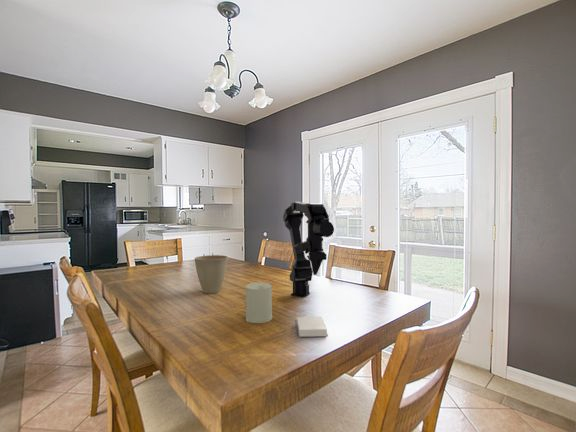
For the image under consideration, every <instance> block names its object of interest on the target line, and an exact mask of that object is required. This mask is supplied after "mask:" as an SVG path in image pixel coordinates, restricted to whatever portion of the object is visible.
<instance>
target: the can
mask: <svg viewBox="0 0 576 432" xmlns="http://www.w3.org/2000/svg"><path fill="white" fill-rule="evenodd" d="M271 320H273V284H271V283H268V282H251V283H248V284H246V285H245V322H246V323H253V324H263V323H268V322H270V321H271Z"/></svg>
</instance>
